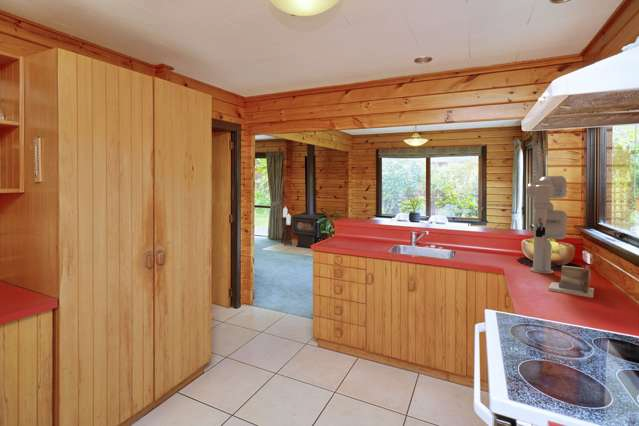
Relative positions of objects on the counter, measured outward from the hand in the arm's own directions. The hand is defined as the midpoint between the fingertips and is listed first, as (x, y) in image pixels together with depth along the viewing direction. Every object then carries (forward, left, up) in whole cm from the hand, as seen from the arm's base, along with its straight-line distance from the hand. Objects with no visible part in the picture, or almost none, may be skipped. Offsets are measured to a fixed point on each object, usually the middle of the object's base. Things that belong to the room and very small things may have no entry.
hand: (540, 236), depth 189 cm
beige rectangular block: (+11, +16, -25) cm, 32 cm away
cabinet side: (+11, +21, -25) cm, 34 cm away
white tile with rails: (+11, +16, -26) cm, 33 cm away
